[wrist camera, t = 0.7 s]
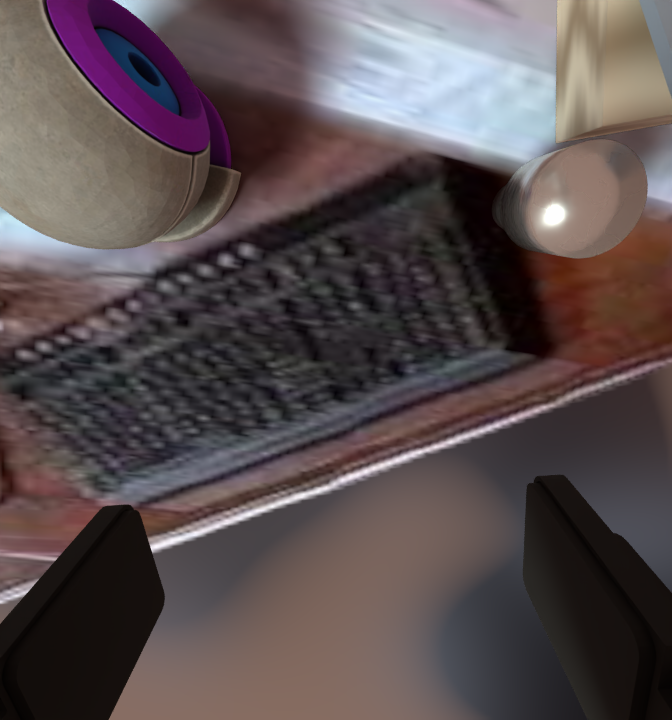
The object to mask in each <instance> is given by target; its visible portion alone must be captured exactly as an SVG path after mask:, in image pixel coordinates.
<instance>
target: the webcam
mask: <svg viewBox="0 0 672 720" xmlns="http://www.w3.org/2000/svg"><path fill="white" fill-rule="evenodd" d="M240 176H241V172H238V171H235V170H232V169H231V151H230V144H229V139H228V135H227V132H226V129H225V126H224V124H223V121H222V119H221V117H220V115H219V113H218V112H217V110H216V108H215V107H214V105H213V104H212V103H211V101H210V100H209V99H208V98H207V97H206V95H205V94H204V93H203V92H202V91H201V90H200V89H198V88H197V87H196V86H195V85H194V84H193V82H192V81H191V79H190V77H189V76H188V74H187V72H186V71H185V69H184V68H183V67H182V65H181V64H180V63H179V61H178V60H177V58H176V57H175V56H174V54H173V53H172V52H171V51H170V50H169V49H168V47H167V46H166V45H165V44H164V43H163V42H162V41H161V40H160V38H159V37H158V36H157V35H156V34H155V33H154V32H153V31H152V30H151V29H149V28H148V27H147V26H146V25H145V24H144V23H143V22H142V21H141V20H140V19H138V18H137V17H136V16H135V15H133V14H132V13H131V12H130V11H128V10H127V9H125V8H124V7H122V6H121V5H119V4H118V3H116V2H115V1H113V0H0V207H2V208H3V209H4V210H5V211H7V212H8V213H9V214H11V215H12V216H13V217H15V218H16V219H18V220H19V221H21V222H22V223H24V224H25V225H27V226H29V227H30V228H32V229H34V230H36V231H38V232H40V233H42V234H44V235H46V236H49V237H51V238H54V239H56V240H58V241H62V242H65V243H69V244H72V245H77V246H81V247H86V248H95V249H125V248H133V247H138V246H141V245H145V244H148V243H151V242H153V241H154V242H176V241H182V240H187V239H190V238H193V237H196V236H198V235H200V234H202V233H204V232H206V231H207V230H209V229H210V228H211V227H213V226H214V225H215V224H216V223H217V222H218V221H219V220H220V219H221V218H222V217H223V216H224V214H225V213H226V212H227V210H228V209H229V207H230V205H231V203H232V201H233V199H234V197H235V194H236V192H237V189H238V185H239V180H240Z"/></svg>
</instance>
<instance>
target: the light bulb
mask: <svg viewBox="0 0 672 720" xmlns="http://www.w3.org/2000/svg"><path fill="white" fill-rule="evenodd" d="M646 198H647V176H646V173H645V169H644V167H643V164H642V162H641V161H640V159H639V158H638V156H637V155H636V154H635V153H634V152H633V151H632V150H631V149H630V148H628V147H627V146H625V145H623V144H622V143H619V142H616V141H613V140H607V139H596V140H589V141H585V142H582V143H579V144H576V145H573V146H570V147H566V148H563V149H560V150H557V151H554V152H551V153H548V154H545V155H542V156H539V157H537V158H534V159H533V160H531V161H529V162H527V163H526V164H525V165H523V166H522V167H521V168H520V169H519V170H518V171H517V172H516V173H515V174H514V175H513V176H512V178H511V179H510V181H509V182H508V184H507V185H506V186H504V187H503V188H502V189H501V190H500V191H499V192H498V193H497V194H496V196H495V198H494V200H493V204H492V215H493V218H494V221H495V222H496V224H497V225H498V226H499V227H501V228H503V229H505V231H506V233H507V235H508V236H509V237H510V239H511V240H512V241H513V242H514V243H516V244H517V245H518V246H520V247H522V248H524V249H527V250H530V251H536V252H542V253H547V254H553V255H559V256H564V257H570V258H588V257H592V256H596V255H599V254H602V253H604V252H606V251H608V250H610V249H611V248H613V247H615V246H616V245H617V244H619V243H620V242H621V241H622V240H623V239H624V238H625V237H626V236H627V235H628V234H629V233H630V232H631V231H632V229H633V228H634V227H635V225H636V224H637V222H638V220H639V218H640V216H641V214H642V212H643V209H644V206H645V203H646Z"/></svg>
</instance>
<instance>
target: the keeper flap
mask: <svg viewBox="0 0 672 720" xmlns="http://www.w3.org/2000/svg"><path fill="white" fill-rule="evenodd" d="M639 2H640V5H641V8H642V11H643V14H644V17H645V20H646V23H647V26H648V29H649V32H650V35H651V38H652V41H653V44H654V47H655V50H656V53H657V56H658V59H659V62H660V65H661V68H662V71H663V74H664V77H665V80H666V83H667V86H668V89H669V92H670V95H671V98H672V0H639Z"/></svg>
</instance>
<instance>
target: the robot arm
mask: <svg viewBox="0 0 672 720" xmlns="http://www.w3.org/2000/svg"><path fill="white" fill-rule="evenodd" d="M526 493H527V494H526V515H525V537H524V559H523V579H524V584H525V587H526V590H527V592H528V594H529V597H530V599H531V601H532V603H533V605H534V607H535V609H536V612H537V614H538V616H539V618H540V620H541V622H542V624H543V626H544V629H545V631H546V632H547V635H548V637H549V639H550V641H551V643H552V645H553V647H554V650H555V652H556V654H557V656H558V658H559V660H560V662H561V664H562V666H563V668H564V671H565V673H566V674H567V677H568V679H569V681H570V683H571V685H572V687H573V690H574V691H575V694H576V696H577V698H578V700H579V702H580V704H581V706H582V708H583V711H584V713H585V715H586V717H587V719H588V720H672V593H671V592H670V590H669V589H668V588H667V587H666V586H665V585H664V584H663V582H662V581H661V580H660V579H659V578H658V577H657V575H656V574H655V573H654V572H653V571H652V570H651V569H650V568H649V566H648V565H647V564H646V563H645V562H644V560H643V559H642V558H641V557H640V556H639V555H638V553H637V552H636V551H635V550H634V549H633V548H632V546H631V545H630V544H629V543H628V542H627V541H626V540H625V539H624V538H623V537H622V536H620V535H618V534H616V533H613V532H612V531H611V530H610V529H609V528H608V527H607V525H606V524H605V523H604V522H603V520H602V519H601V518H600V517H599V516H598V515H597V513H596V512H595V511H594V510H593V509H592V507H591V506H590V505H589V504H588V503H587V501H586V500H585V499H584V498H583V497H582V496H581V494H580V493H579V492H578V491H577V490H576V488H575V487H574V486H573V485H572V484H571V483H570V481H569V480H568V479H567V478H566V477H565V476H564V475H549V476H537V477H536V478H535V480H534V483H529V484H528V485H527V492H526ZM164 600H165V596H164V590H163V587H162V584H161V580H160V577H159V574H158V571H157V567H156V564H155V561H154V558H153V555H152V551H151V548H150V545H149V542H148V538H147V535H146V532H145V529H144V525H143V522H142V519H141V516H140V513H139V512H138V511H137V510H134V509H133V507H132V506H131V505H113V506H105V507H103V508H102V509H101V510H100V511H99V512H98V513H97V514H96V515H95V516H94V517H93V519H92V520H91V521H90V522H89V523H88V524H87V525H86V527H85V528H84V529H83V530H82V531H81V532H80V533H79V535H78V536H77V537H76V538H75V539H74V540H73V541H72V543H71V544H70V545H69V546H68V547H67V548H66V549H65V551H64V552H63V553H62V554H61V555H60V556H59V557H58V559H57V560H56V561H55V562H54V563H53V564H52V565H51V567H50V568H49V569H48V570H47V571H46V572H45V573H44V575H43V576H42V577H41V578H40V579H39V580H38V581H37V583H36V584H35V585H34V586H33V587H32V588H31V589H30V591H29V592H28V593H27V594H26V595H25V596H24V597H23V599H22V600H21V601H20V602H19V603H18V604H17V605H16V607H15V608H14V609H13V610H12V611H11V612H10V613H9V614H8V616H7V617H6V618H5V619H4V620H3V621H2V623H1V624H0V720H109V718H110V716H111V714H112V711H113V710H114V708H115V706H116V703H117V701H118V699H119V697H120V695H121V693H122V691H123V689H124V687H125V685H126V683H127V681H128V679H129V677H130V675H131V673H132V671H133V669H134V667H135V665H136V662H137V660H138V658H139V656H140V654H141V652H142V650H143V648H144V646H145V644H146V642H147V640H148V638H149V636H150V634H151V632H152V630H153V628H154V626H155V624H156V621H157V619H158V617H159V615H160V613H161V611H162V609H163V606H164Z"/></svg>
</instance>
